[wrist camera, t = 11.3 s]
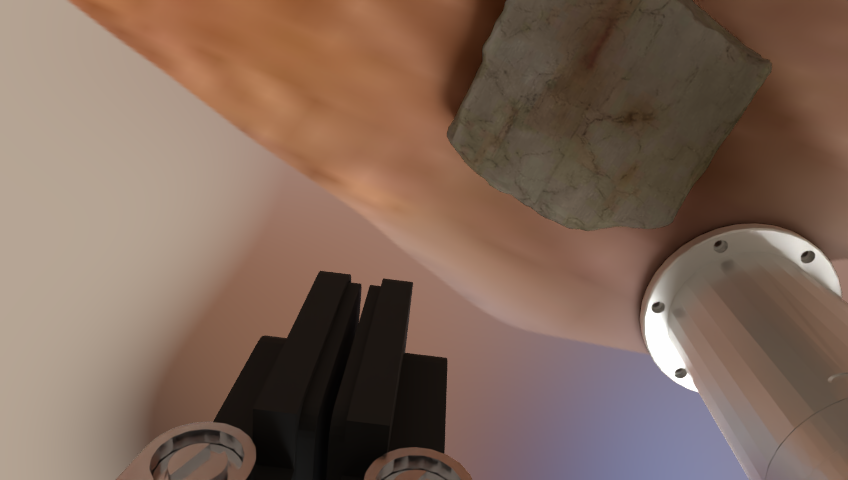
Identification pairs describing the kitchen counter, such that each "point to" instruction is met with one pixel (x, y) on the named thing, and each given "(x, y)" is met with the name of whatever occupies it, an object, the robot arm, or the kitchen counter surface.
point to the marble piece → (603, 107)
